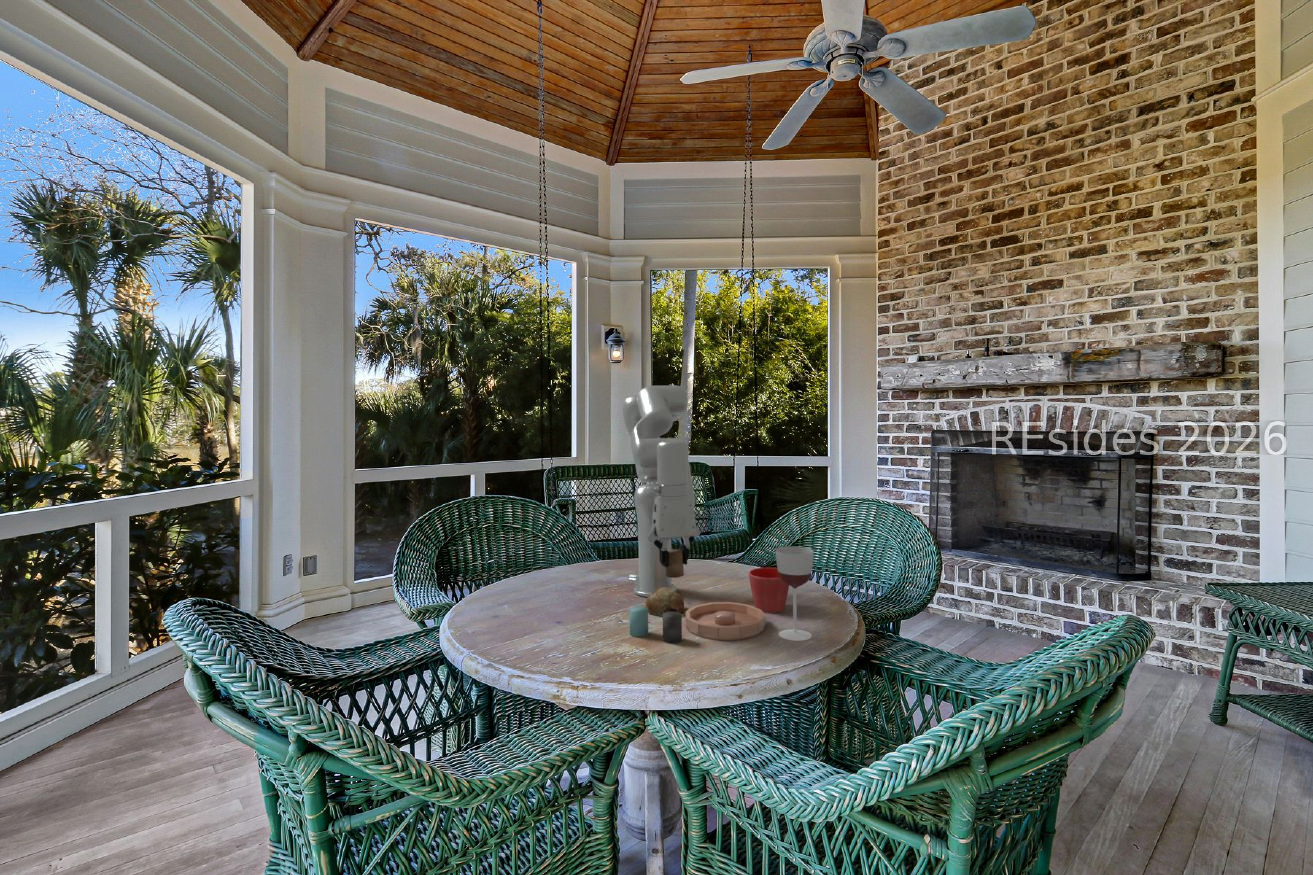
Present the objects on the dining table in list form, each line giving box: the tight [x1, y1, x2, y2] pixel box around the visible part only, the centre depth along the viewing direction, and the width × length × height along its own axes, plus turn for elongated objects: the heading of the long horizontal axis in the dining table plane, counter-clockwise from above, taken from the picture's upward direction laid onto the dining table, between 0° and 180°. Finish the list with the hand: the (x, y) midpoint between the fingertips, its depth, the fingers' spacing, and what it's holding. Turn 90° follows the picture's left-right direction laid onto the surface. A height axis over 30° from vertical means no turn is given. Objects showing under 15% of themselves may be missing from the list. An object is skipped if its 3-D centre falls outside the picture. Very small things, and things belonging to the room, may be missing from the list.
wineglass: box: [775, 546, 814, 642], centre depth 152 cm, size 8×9×20 cm
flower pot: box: [748, 567, 790, 614], centre depth 172 cm, size 11×11×10 cm
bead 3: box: [662, 612, 683, 645], centre depth 150 cm, size 4×4×6 cm
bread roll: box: [645, 587, 685, 617], centre depth 172 cm, size 10×10×8 cm
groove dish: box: [685, 601, 766, 641], centre depth 159 cm, size 19×19×3 cm
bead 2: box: [665, 548, 685, 579], centre depth 160 cm, size 4×4×6 cm
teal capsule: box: [628, 605, 649, 638], centre depth 155 cm, size 4×4×6 cm
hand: (674, 563), depth 160 cm, fingers closed on bead 2, 4 cm apart
